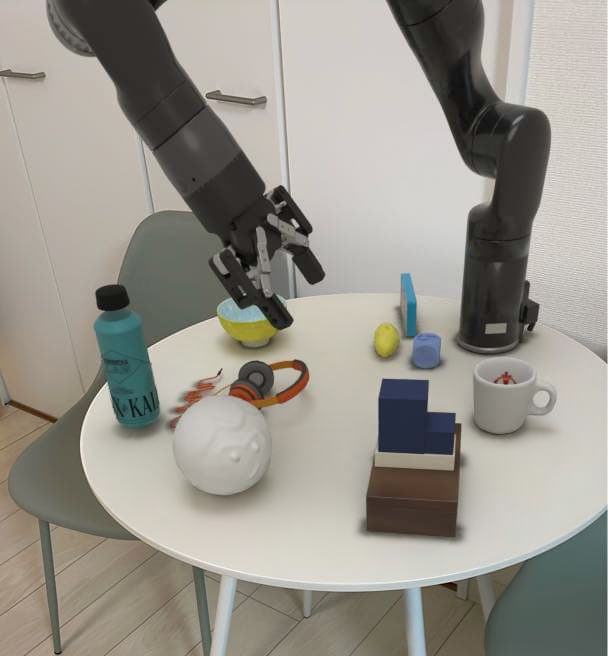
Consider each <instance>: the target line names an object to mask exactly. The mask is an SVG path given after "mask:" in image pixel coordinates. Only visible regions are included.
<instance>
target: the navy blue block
mask: <svg viewBox="0 0 608 656" xmlns="http://www.w3.org/2000/svg"><path fill="white" fill-rule="evenodd" d="M429 389H430V380H429V379H412V378H407V379H406V378H382V379H381V384H380V387H379V392H378V398H377V405H378V406H377V421H378V422H377V439H376V443H375V448H376V449H374V453H375V467H393V468H412V469H431V470H451V471H453V470H454V460H455V443H456V435H455V423H456V420H457V418H456V417H457V412H449V411H448V412H447V411H446V412H444V411H428V410H429V391H430V390H429Z"/></svg>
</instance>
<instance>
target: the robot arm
mask: <svg viewBox="0 0 608 656" xmlns="http://www.w3.org/2000/svg"><path fill="white" fill-rule="evenodd" d="M167 1H168V0H45V11H46V17H47V22H48V25H49V27H50V29H51V31H52V33H53V35H54V36H55V38H56V39H57V40H58V42H59V43H60V44H61V45H62V46H63V47H64V48H65V49H66V50H67V51H69V52H71V53H73V54H75V55H77V56H80V57H83V58H96V59H97V60H98V62H99V63H100V65H101V66H102V68H103V69H104V71H105V73H106V74H107V75H108V77H109V79H110V80H111V82H112V84H113V86H114V87H115V91H116V100H117V103H118V106H119V108H120V110H121V111H122V114H123V115H124V116H125V118H126V120H127V121H128V122H129V124H130V125H131V126H132V128H133V129H134V131H135V132H136V134H137V135H138V136H139V137H140V139H141V140H142V142H143V143H144V144H145V146H146V147H147V148H148V150H149V151H150V152H151V153H152V155H153V157H154V158H155V160H156V161H157V163H158V165H159V167H160V168H161V170H162V172H163V174H164V175H165V177H166V178H167V179H168V181H169V182H170V184H171V185H172V186H173V188H174V190H176V192H177V193H178V194H179V196H180V197H181V199H182V200H183V201H184V203H185V205H187V207H188V208H189V209H190V210H191V212H192V214H194V216H195V217H196V218H197V220H198V221H199V223H200V224H201V225H202V227H203V228H204V229H205V231H206V232H207V233H209V234H213V235H216V236H217V237H218V238H219V239H220V242H221V244H222V247H223V249H222V250H221V251H220V252H218V253H217V254H215V255H212V256H211V257H210V258H209V259H208V261H207V262H208V266H209V267H210V269H211V270H212V272H213V273H214V275H215V276H216V277H217V279H218V281H219V282H220V283H221V285H222V286H223V288H224V289H225V290H226V292H227V293H228V295H229V296H230V298H232V299H233V300H234V302H235V303H236V305H237V306H238V307H239V309H241V310H243V309H246V308H248V307H250V306H252V305H255V306H257V307H258V308H259V309H260V311H261V312H262V313H263V315H264V316H265V317H266V318H267V320H268V321H269V323H270V324H271V325H272V326H273V327H274V328H275V329H278V330H279V331H283V330H285V329H288V328H290V327H291V326H292V324H293V323H294V321H295V320H294V317H293V316H292V315H291V313H290V312H289V310H288V308H287V309H286V308H285V306H284V305H283V304H282V302H281V301H280V299H279V298H278V297H277V295H278V294H277V293H276V292H273V288H272V284H271V280H270V274H271V272H272V267H271V261H272V260H273V258H274V256H275V254H276V251H282V252H284V253H286V254H288V255H291V256H292V255H293V256H292V257H291V260H292V262H293V263H294V265H295V266H296V268H297V269H298V270H299V272H300V274H301V275H302V276H303V278H304V279H305V281H306V282H307V284H309V285H310V286H315V285H316V284H318V283H320V282H322V281H324V279H325V277H326V272H325V271H324V268H323V266H322V264H321V263H320V261H319V260H318V259H317V257H316V256H315V254H314V252H313V251H312V249H311V248H310V240H309V235H310V234H312V233H313V231H314V229H313V225H312V224H311V222H310V221H309V220H308V218H307V217H306V216H305V214H304V213H303V211H302V210H301V208H300V207H299V206H298V204H297V203H296V201H295V200H294V198H293V197H292V196H291V195H290V193H289V192H288V190H287V189H286V188H285V186H284V185H281V184H279V185H278V186H276V187H274V188H272V189H271V190H269V191H268V192H267V193H265V192H266V189H267V185H266V183H265V181H264V179H263V178H262V177H261V175H260V174H259V171H257V170H256V167H255V166H254V165H253V163H252V162H251V160H250V159H249V158H248V156H247V155H246V153H245V151H244V150H243V148H242V147H241V146H240V144H239V142H238V141H237V140H236V138H235V137H234V135H233V134H232V132H231V130H230V129H229V128H228V126H227V125H226V124H225V122H224V121H223V120H222V119H221V118H220V116H219V115H218V114H217V113H216V112H215V111H214V110H213V109H212V107H211V105H210V104H208V102H207V100H206V99H205V97H204V96H203V94H202V93H201V91H200V90H199V89H198V87H197V85H196V84H195V82H194V81H193V80H192V78H191V77H190V75H189V74H188V72H187V71H186V70H185V68H184V67H183V66H182V63H180V61H179V59H178V58H177V56H176V54H175V52H174V50H173V48H172V46H171V42H170V39H169V37H168V36H167V33H166V32H165V29H164V27H163V25H162V23H161V20H160V19H159V16H158V14H157V11H158V10H159V9H160V8H161V7H162V6H163V5H164V4H165V3H166V2H167ZM385 2H386V4H387V7H388V8H389V11H390V13H391V15H392V18H393V19H394V21H395V23H396V25H397V27H398V29H399V31H400V33H401V34H402V36H403V38H404V40H405V42H406V44H407V45H408V47H409V49H410V50H411V52H412V54H413V55H414V57H415V59H416V60H417V62H418V64H419V66H420V69H421V71H422V72H423V74H424V76H425V78H426V80H427V81H428V84H429V86H430V88H431V90H432V92H433V93H434V95H435V97H436V99H437V101H438V103H439V105H440V108H441V110H442V112H443V114H444V117H445V120H446V122H447V125H448V127H449V130H450V133H451V136H452V139H453V141H454V144H455V147H456V149H457V151H458V153H459V156H460V157H461V160H462V161H463V164H464V165H465V167H466V168H467V169H469V171H471V173H474V174H475V175H477V176H479V177H483V178H486V179H490V180H493V181H494V186H493V193H492V197H491V200H488V201H485V202H482V203H478V204H477V205H474V206H473V207H471V208H470V209H469V212H468V214H467V219H466V232H465V234H466V235H465V245H464V246H465V247H464V257H463V258H464V260H463V272H462V273H463V274H462V286H461V296H460V297H461V299H460V311H459V322H458V323H459V326H458V332H457V343H458V344H459V346H461V347H462V348H463V349H465V350H467V351H470V352H473V353H478V354H487V355H491V354H500V353H501V354H502V353H505V352H509V351H510V350H513V349H515V347H517V346H518V344H519V343H521V342H523V341H524V335H525V328H526V331H527V332H531V333H532V332H533V330H534V328H535V326H536V324H537V322H538V321H539V320H538V319H539V312H540V307H541V304H540V303H538V302H536V301H534V300H532V299H531V298H529V296H530V289H531V282H530V280H528V279H526V278H527V271H528V263H529V256H530V255H529V254H530V248H531V247H530V246H531V240H532V232H533V224H534V221H535V218H536V216H537V214H538V211H539V209H540V206H541V203H542V197H543V192H544V186H545V181H546V175H547V172H548V171H547V170H548V165H549V160H550V155H551V146H552V127H551V122H550V119H549V117H548V116H547V114H546V113H545V112H544V111H543V110H541V109H539V108H536V107H533V106H527V105H521V104H515V103H511V102H506V101H504V100H502V99H501V98H500V97H499V96H498V94H497V93H496V90H494V88H493V86H492V84H491V82H490V80H489V78H488V75H487V73H486V71H485V69H484V66H483V62H482V50H483V43H484V36H485V25H486V15H485V7H484V4H483V0H385ZM292 220H294V222H296V223H297V225H298V226H297V227H296V225H295V224H294V223H293V222H292ZM251 267H253V269H251ZM257 281H258V284H257ZM258 285H259V288H258ZM240 288H241V289H242V290H243V292H242V290H241V289H240ZM243 294H246V295H243ZM526 326H527V327H526Z"/></svg>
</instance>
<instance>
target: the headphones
mask: <svg viewBox="0 0 608 656" xmlns="http://www.w3.org/2000/svg"><path fill="white" fill-rule="evenodd" d="M284 369H293V370H295V371H298V372H300V375H299V376H298V378H297V379H296V381H294V382H293V383H292V384H291V385H289V386H288V387H286V388H285V389H283V390H281V391H280V392H277V393H276V394H275V395H273V396H271V397H267V398H265V395H266V394H268V393H269V392H271V390H272V389H273V387H274V384H275V373H274V372H275V371H279V370H284ZM223 370H224V369H223V367H221V368H220V370H218V372H217V373H216V375H215V376H211V377H207V378H204V379H203V378H202V379H200V380H199V381H197V384H196V386H197V387H196V390H191V391H188V392H187V395H185V396H183V400H188V402H187V403H189V404H188V405H185V406H179V407H177V408H175V409H174V411H175V412H181V411H186V410H187V409H188V408H189V407H191V406H192V405H193V404H194V403H196V402H198V401H200V400H201V399H203V395H201V392H205V391H209V390H210V391H211V390H214V389H216V386H215V385H213V384H214V383H213V382H206V383H202V382H204V381H209V380H213V379H216V378H218V377H220V376H221V374H222V371H223ZM309 381H310V369H309V367H308V366H307V364H306V363H305V362H304V360H300V359H297V358H294V359H293V360H282V361H277V362H273V363H270V364H268V363H266V362H265V361H262V360H258V359H255V360H250V361H248V362H246V363H244V364H243V365H242V366H241V367H240V369H239V371H238V373H237V379H235V380H234V381H233V382H232V383H230V384H228V385H226V386H224V387H222V388H221V389H220V390H218V391H217V392H215V393H214V394H213V395H212V396H217V395H218V394H219V393H221V392H222V391H224V390H225V389H227V388H229V392H228V395H227V396H233V397H237V398H240V399H242V400H244V401H246V402H248V403H250V404H252V405H253V406H255V407H256V408H257V409H258V410H259V411H260V412H261V410H262V409H263V408H266V407H272V406H275V405H282V404H284V403H287V402H288V401H290V400H293V398H295V397H297V396H298V395H299V394H300V393H301V392H303V390H304V389H305V388H306V387H307V385H308V383H309ZM200 383H201V384H200ZM182 415H183V414H181V415H179V416H176V417H175V418H173V419H171V420H170V422H169V425H170V427H172V428H174V429H175V428H176V426H177V425H173V424H172V423H173V422H174V421H176V420H178V419H180V418H181V416H182Z"/></svg>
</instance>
